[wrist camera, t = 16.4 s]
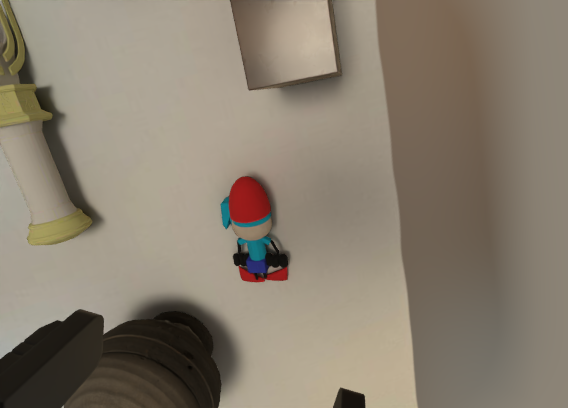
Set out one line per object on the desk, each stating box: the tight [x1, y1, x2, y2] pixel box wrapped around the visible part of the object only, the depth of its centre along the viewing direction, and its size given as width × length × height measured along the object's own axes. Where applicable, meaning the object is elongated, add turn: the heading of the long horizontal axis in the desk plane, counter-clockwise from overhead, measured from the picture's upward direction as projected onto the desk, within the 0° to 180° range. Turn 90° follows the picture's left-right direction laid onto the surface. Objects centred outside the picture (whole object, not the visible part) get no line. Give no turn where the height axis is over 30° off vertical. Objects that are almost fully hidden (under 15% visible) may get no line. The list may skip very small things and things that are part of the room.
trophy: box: [0, 0, 92, 245], centre depth 43 cm, size 8×8×30 cm
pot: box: [64, 311, 221, 408], centre depth 46 cm, size 18×18×20 cm
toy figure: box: [221, 177, 288, 282], centre depth 45 cm, size 8×5×15 cm
